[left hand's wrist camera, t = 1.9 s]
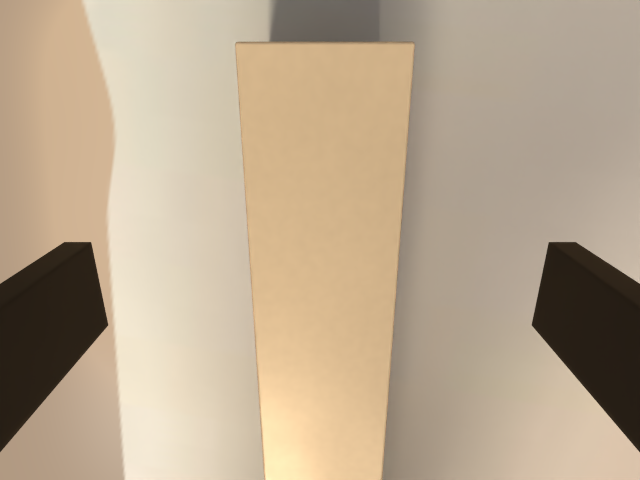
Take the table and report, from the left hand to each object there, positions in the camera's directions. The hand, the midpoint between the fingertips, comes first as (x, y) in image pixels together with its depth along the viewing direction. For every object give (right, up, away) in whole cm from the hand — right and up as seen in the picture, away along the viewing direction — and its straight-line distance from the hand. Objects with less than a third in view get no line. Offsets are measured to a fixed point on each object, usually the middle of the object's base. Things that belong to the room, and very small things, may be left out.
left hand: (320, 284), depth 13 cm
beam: (0, -19, +18) cm, 26 cm away
